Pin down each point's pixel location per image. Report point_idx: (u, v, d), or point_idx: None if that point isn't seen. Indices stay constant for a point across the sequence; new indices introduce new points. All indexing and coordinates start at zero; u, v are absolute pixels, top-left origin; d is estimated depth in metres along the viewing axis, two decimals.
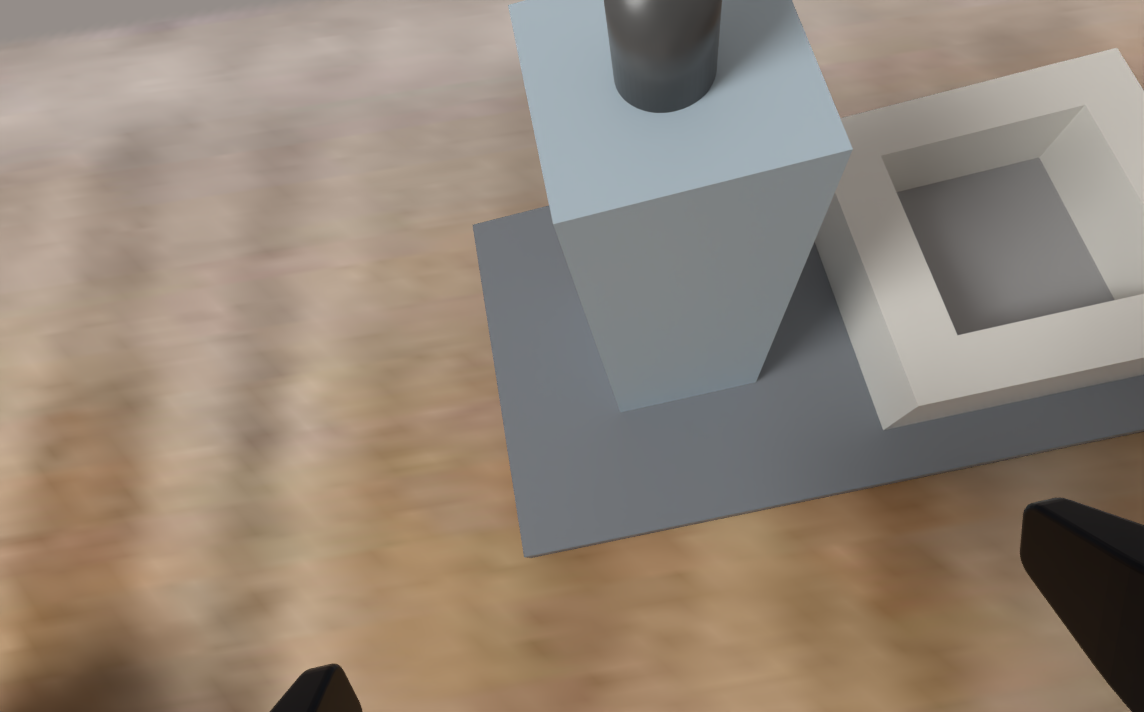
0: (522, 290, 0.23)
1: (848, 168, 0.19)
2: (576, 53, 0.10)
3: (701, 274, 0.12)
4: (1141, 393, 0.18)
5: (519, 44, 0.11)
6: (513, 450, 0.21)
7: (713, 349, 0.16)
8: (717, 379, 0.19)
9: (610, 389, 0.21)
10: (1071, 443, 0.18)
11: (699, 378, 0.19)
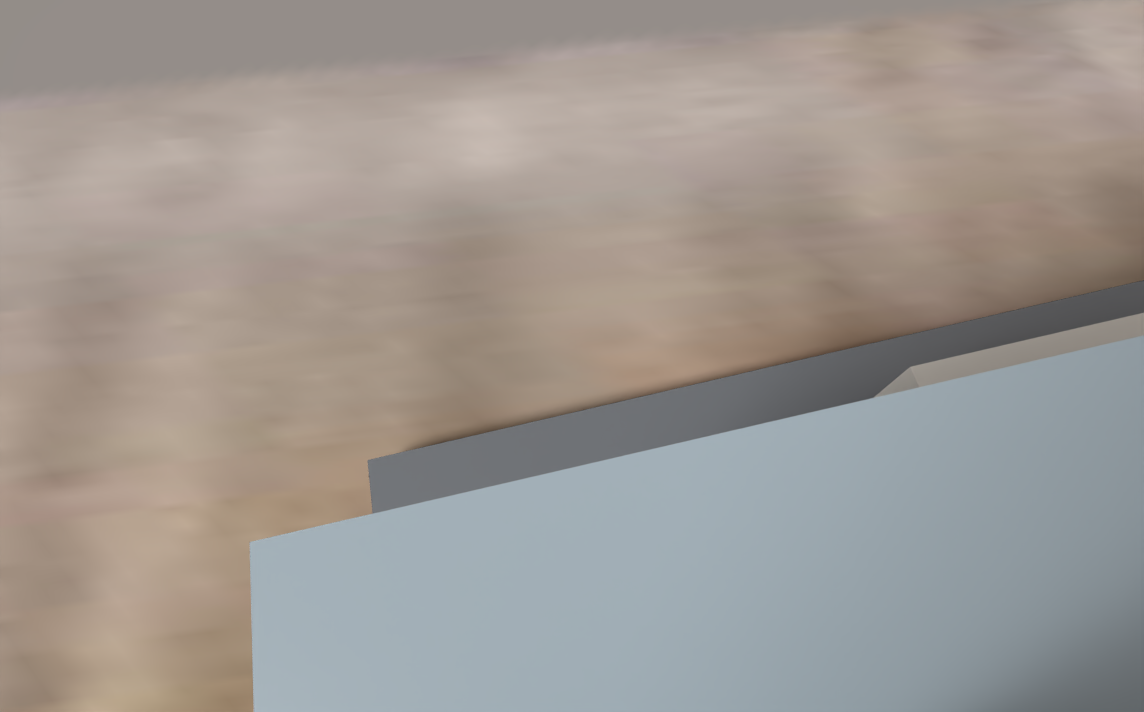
0: None
1: None
2: None
3: None
4: None
5: None
6: None
7: None
8: None
9: None
10: None
11: None
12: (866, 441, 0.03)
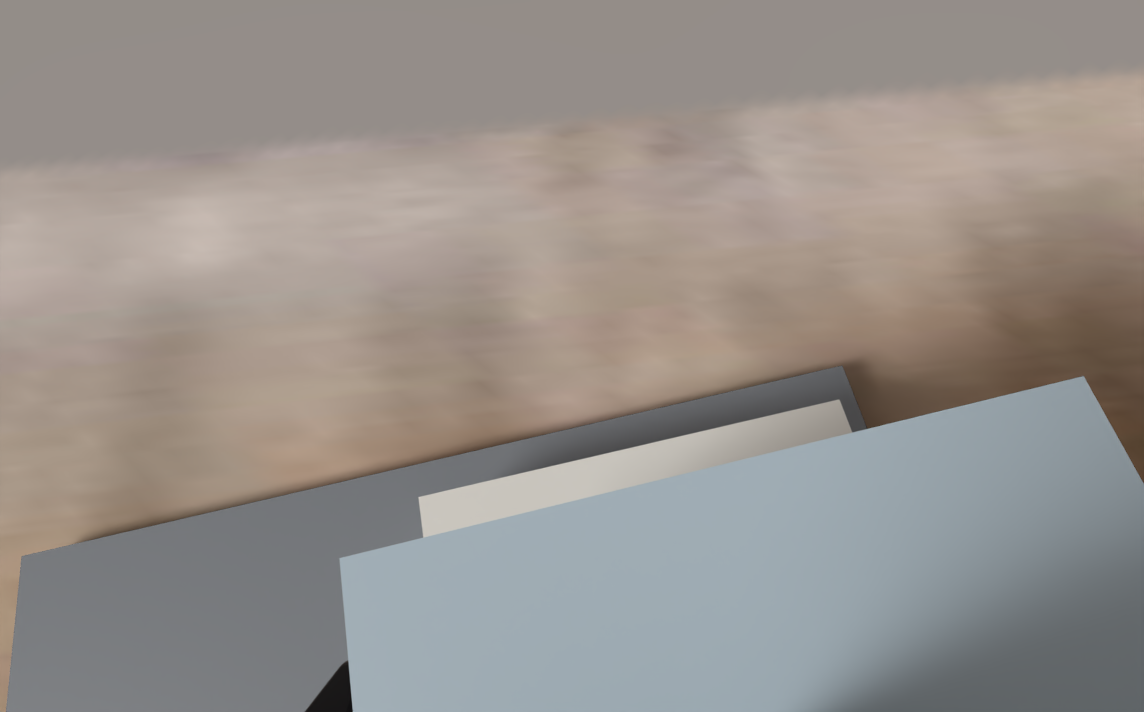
0: (64, 673, 0.16)
1: None
2: None
3: None
4: None
5: None
6: None
7: None
8: None
9: None
10: None
11: None
12: (803, 476, 0.04)
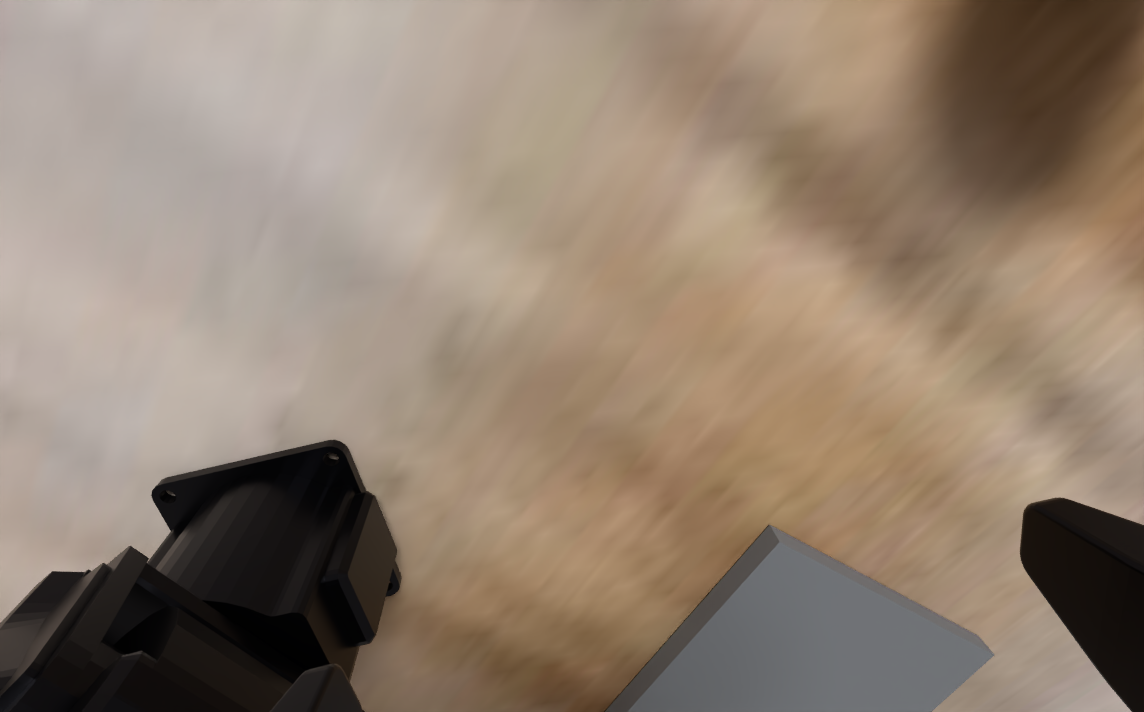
0: (919, 651, 0.26)
1: None
2: None
3: None
4: None
5: None
6: (842, 580, 0.24)
7: None
8: None
9: (807, 652, 0.26)
10: None
11: None
12: None
